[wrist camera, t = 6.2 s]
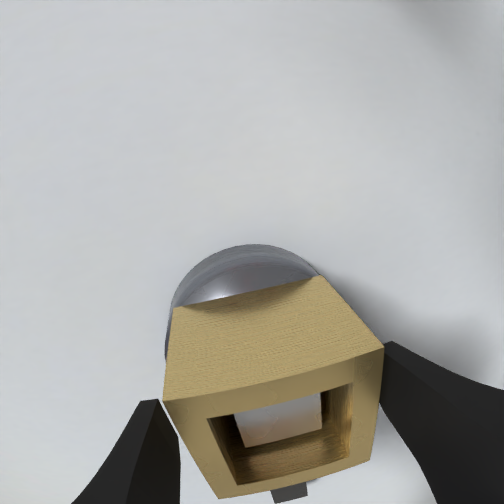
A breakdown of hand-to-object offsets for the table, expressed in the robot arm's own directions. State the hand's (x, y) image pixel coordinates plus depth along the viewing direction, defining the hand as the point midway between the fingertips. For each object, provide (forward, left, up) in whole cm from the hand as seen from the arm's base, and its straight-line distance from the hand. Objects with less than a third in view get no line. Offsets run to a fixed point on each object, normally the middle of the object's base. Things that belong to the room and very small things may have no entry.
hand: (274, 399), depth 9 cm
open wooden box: (0, 0, -2) cm, 2 cm away
